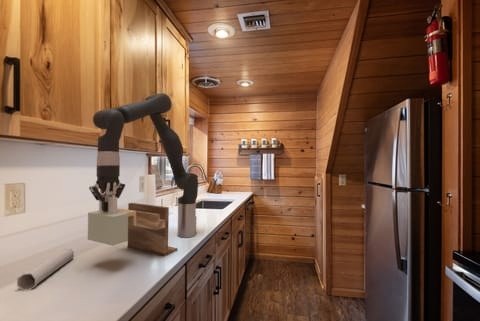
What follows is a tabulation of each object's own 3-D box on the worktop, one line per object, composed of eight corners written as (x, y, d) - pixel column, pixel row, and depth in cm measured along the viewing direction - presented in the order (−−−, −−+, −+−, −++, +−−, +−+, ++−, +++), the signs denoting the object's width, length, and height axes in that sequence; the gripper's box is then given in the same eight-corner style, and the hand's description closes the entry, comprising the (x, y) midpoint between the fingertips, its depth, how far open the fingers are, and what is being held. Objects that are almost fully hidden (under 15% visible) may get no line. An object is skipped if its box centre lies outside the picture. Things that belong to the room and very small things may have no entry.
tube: (60, 249, 99) (13, 277, 74) (74, 244, 100) (32, 270, 75) (64, 261, 99) (19, 293, 75) (78, 256, 100) (38, 287, 75)
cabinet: (113, 232, 101) (113, 193, 101) (137, 237, 95) (138, 195, 95) (87, 239, 92) (88, 196, 92) (113, 245, 86) (113, 199, 86)
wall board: (141, 242, 120) (142, 201, 120) (177, 250, 110) (178, 205, 110) (118, 250, 108) (119, 204, 109) (156, 260, 99) (157, 209, 99)
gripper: (117, 163, 99) (117, 207, 99) (83, 164, 87) (82, 213, 87) (131, 164, 96) (130, 209, 96) (97, 164, 84) (96, 216, 84)
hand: (107, 211), depth 92 cm, fingers closed on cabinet, 1 cm apart
